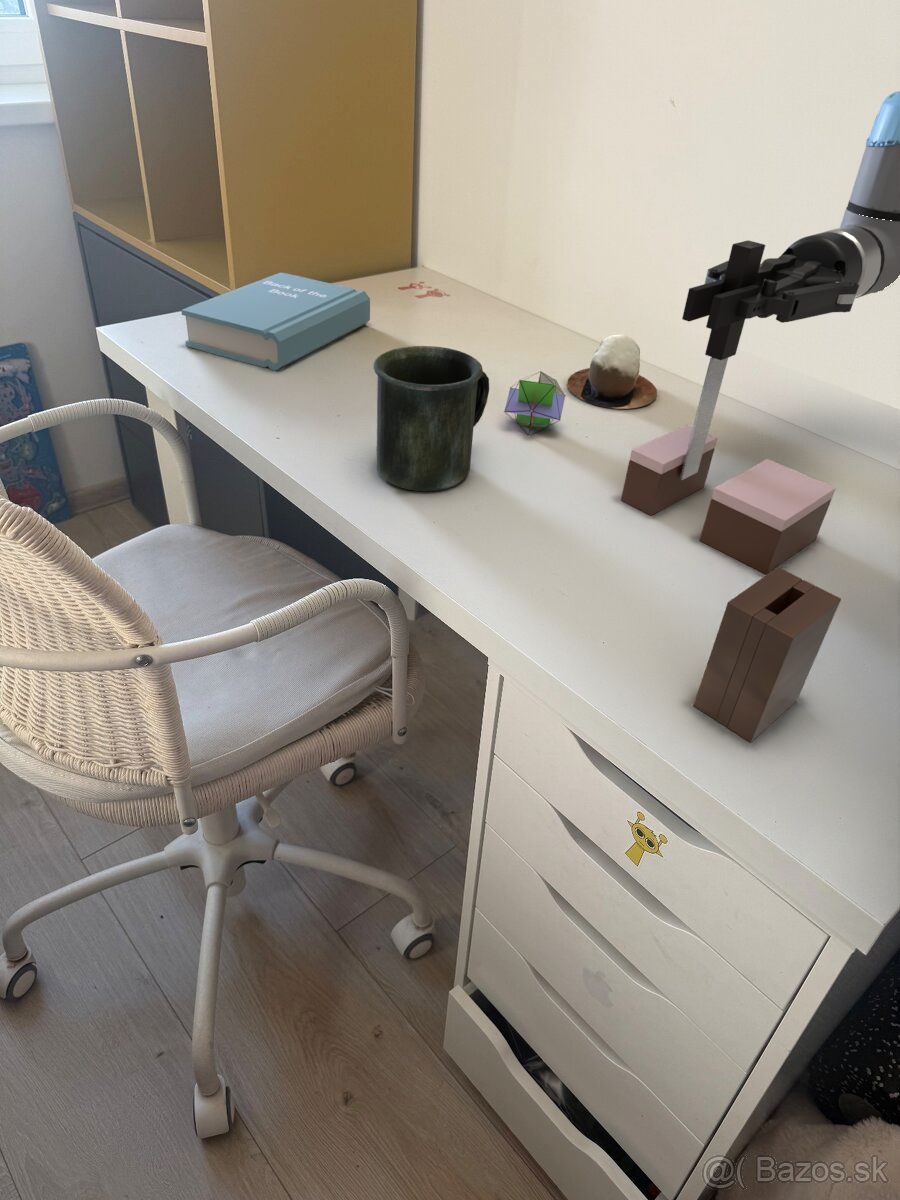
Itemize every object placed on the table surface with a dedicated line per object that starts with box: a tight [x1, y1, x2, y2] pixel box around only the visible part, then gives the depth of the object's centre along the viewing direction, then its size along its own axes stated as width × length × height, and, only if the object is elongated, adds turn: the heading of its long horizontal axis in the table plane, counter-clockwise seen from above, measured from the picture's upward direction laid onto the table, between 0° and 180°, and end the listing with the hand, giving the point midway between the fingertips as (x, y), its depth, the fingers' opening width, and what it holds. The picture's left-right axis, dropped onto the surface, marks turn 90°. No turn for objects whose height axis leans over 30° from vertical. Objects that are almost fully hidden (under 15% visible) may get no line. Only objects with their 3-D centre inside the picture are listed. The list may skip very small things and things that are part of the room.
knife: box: [680, 239, 766, 480], centre depth 80 cm, size 2×3×23 cm, turn 133°
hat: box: [566, 334, 658, 410], centre depth 111 cm, size 12×10×10 cm
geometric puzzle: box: [503, 370, 567, 437], centre depth 99 cm, size 7×7×8 cm
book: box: [181, 271, 371, 371], centre depth 119 cm, size 23×16×5 cm
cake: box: [699, 458, 837, 575], centre depth 82 cm, size 8×10×6 cm
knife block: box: [693, 566, 842, 743], centre depth 61 cm, size 5×7×10 cm
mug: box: [372, 345, 490, 492], centre depth 88 cm, size 11×15×12 cm
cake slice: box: [620, 424, 718, 516], centre depth 88 cm, size 4×10×6 cm, turn 133°
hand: (701, 309), depth 73 cm, fingers closed on knife, 2 cm apart
